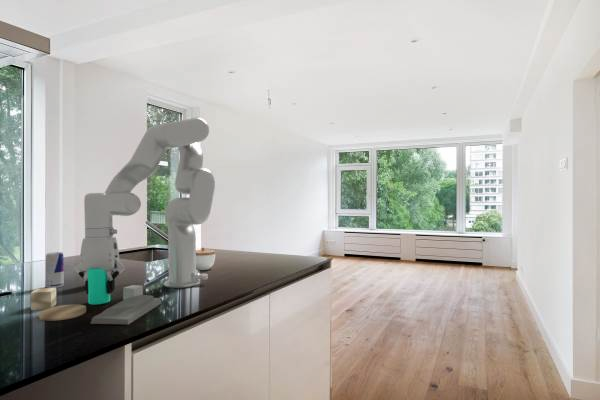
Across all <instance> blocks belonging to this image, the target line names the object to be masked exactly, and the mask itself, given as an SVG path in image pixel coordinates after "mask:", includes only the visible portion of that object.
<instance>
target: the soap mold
mask: <svg viewBox="0 0 600 400" xmlns="http://www.w3.org/2000/svg"><path fill="white" fill-rule="evenodd" d="M161 299H162V298H161V297H154V296H153V295H148V294H147V295H146V294H143V295H139V296H135V297H130V298H127V299H125V300H121V301H119V302H117V303H116V304H114V305H112V306H109V307H108V308H106V309H105V310H103V311H102V312H100V313H99V314H96V315H94V316H93V317H92V318H91V320H90V324H91V325H92V324H93V325H96V324H97V325H98V324H99V325H130V324H131V323H133V322H135V321H136V320H138V319H139V318H141V317H142V316H144V315H145V314H147V313H148V312H150V311H151V310H153V309H154V308H157V306H160V305H161V304H162V300H161Z"/></svg>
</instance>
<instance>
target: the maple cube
mask: <svg viewBox="0 0 600 400" xmlns="http://www.w3.org/2000/svg"><path fill="white" fill-rule="evenodd" d="M56 305H57V288H47V287H44V288H36V289H35V290H33V291H31V292H30V310H31V311H35V310H45V309H48V308H51V307H55V306H56Z"/></svg>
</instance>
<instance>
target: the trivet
mask: <svg viewBox="0 0 600 400" xmlns="http://www.w3.org/2000/svg"><path fill="white" fill-rule="evenodd" d="M86 313H87V306H86V305H83V304H63V305H57V306H56V305H55V306H53V307H51V308H48V309H41V310H40V311H39V312H38V319H39V320H40V321H45V322H51V321H52V322H55V321H64V320H70V319H74V318H78V317H80V316H83V315H84V314H86Z"/></svg>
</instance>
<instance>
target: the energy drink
mask: <svg viewBox="0 0 600 400" xmlns="http://www.w3.org/2000/svg"><path fill="white" fill-rule="evenodd" d="M64 267H65V266H64V253H63V252H60V251H59V252H57V251H56V252H48V253H47V252H46V254H45V288H56V289H57V288H62V287H63V286H64V285H65V283H64V280H65V279H64V275H65V273H64V271H65V270H64Z"/></svg>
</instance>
